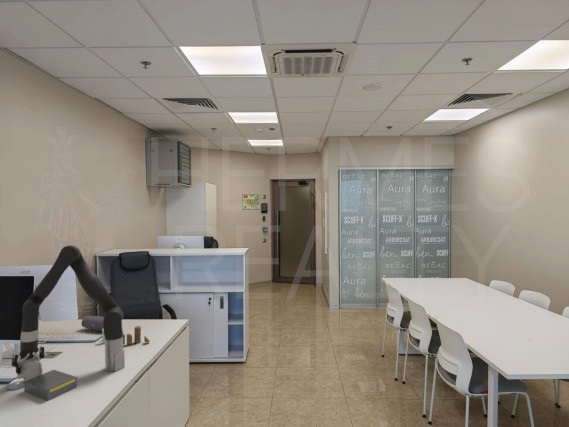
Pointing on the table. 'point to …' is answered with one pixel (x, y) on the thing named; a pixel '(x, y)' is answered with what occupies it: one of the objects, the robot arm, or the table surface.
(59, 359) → the table surface
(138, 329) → the wooden block set
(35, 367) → the cable organizer
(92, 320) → the bluetooth speaker
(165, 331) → the table surface
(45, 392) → the block
